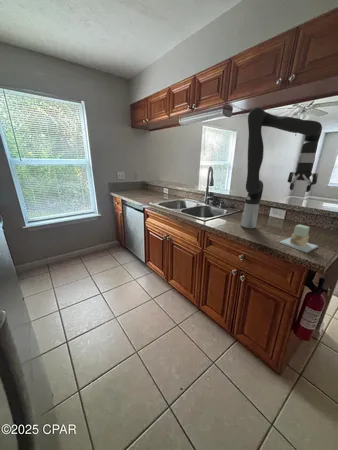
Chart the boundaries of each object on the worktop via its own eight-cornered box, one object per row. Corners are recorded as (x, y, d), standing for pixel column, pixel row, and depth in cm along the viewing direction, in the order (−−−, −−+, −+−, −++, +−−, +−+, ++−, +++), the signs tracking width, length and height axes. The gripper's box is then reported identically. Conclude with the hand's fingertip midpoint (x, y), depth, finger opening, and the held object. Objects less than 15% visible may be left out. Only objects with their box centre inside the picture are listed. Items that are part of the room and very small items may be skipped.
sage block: (293, 234, 103) (295, 225, 101) (297, 232, 105) (299, 224, 104) (303, 237, 99) (305, 228, 97) (307, 235, 101) (309, 226, 100)
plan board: (279, 242, 106) (279, 241, 106) (290, 238, 112) (290, 237, 112) (306, 252, 95) (307, 250, 95) (317, 247, 101) (317, 245, 101)
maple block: (289, 242, 104) (291, 234, 103) (295, 240, 107) (297, 232, 106) (301, 246, 100) (303, 237, 98) (306, 244, 103) (309, 235, 101)
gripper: (289, 161, 108) (283, 189, 113) (317, 162, 97) (309, 193, 102) (295, 162, 112) (289, 189, 117) (323, 162, 100) (316, 192, 106)
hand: (299, 190), depth 110 cm, fingers open, 8 cm apart
